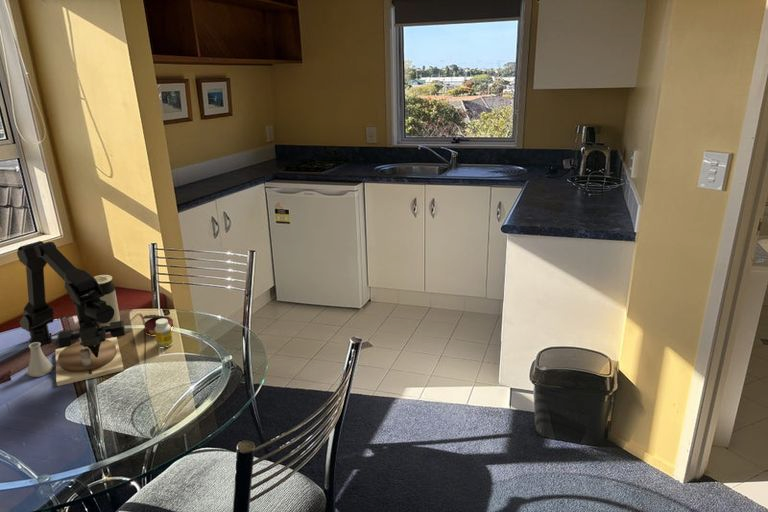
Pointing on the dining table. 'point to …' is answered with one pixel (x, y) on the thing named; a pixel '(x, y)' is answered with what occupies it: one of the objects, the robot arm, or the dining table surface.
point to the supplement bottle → (163, 333)
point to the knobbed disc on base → (86, 357)
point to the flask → (38, 362)
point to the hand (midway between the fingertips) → (97, 356)
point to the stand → (108, 368)
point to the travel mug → (108, 296)
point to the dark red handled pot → (154, 323)
